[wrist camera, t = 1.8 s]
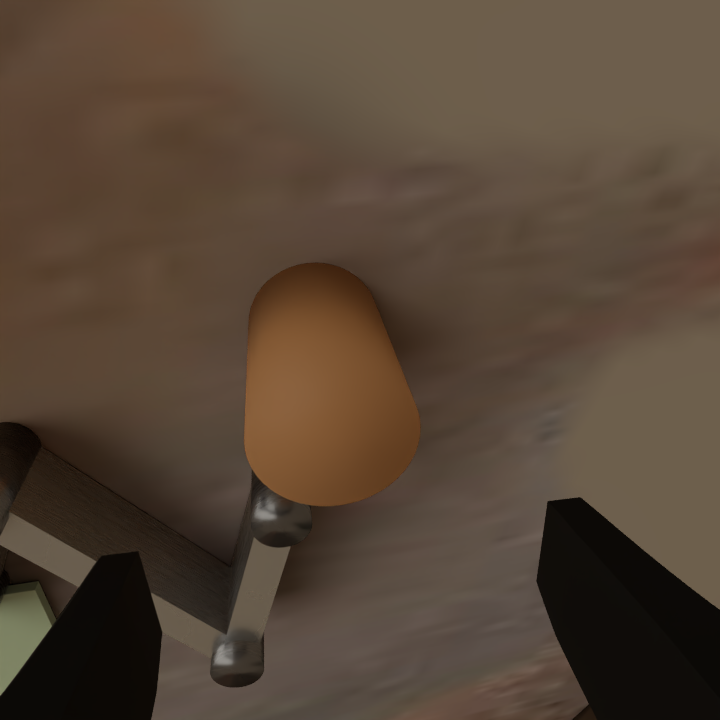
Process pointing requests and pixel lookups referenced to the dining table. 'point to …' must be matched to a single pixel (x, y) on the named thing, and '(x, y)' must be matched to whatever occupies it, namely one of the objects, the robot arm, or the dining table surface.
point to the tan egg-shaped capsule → (324, 390)
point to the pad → (21, 627)
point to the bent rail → (151, 552)
